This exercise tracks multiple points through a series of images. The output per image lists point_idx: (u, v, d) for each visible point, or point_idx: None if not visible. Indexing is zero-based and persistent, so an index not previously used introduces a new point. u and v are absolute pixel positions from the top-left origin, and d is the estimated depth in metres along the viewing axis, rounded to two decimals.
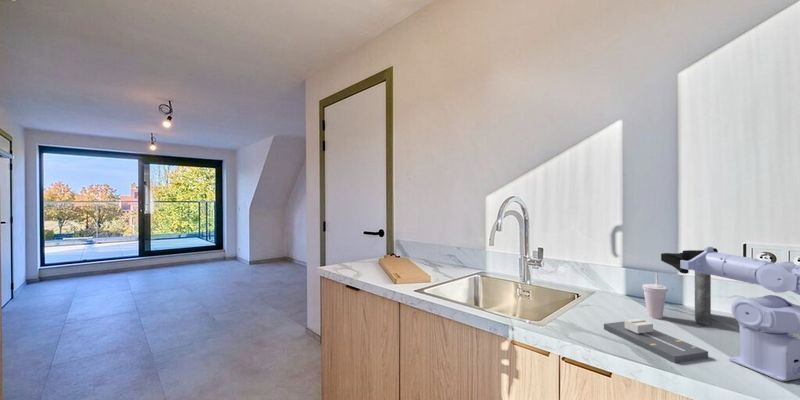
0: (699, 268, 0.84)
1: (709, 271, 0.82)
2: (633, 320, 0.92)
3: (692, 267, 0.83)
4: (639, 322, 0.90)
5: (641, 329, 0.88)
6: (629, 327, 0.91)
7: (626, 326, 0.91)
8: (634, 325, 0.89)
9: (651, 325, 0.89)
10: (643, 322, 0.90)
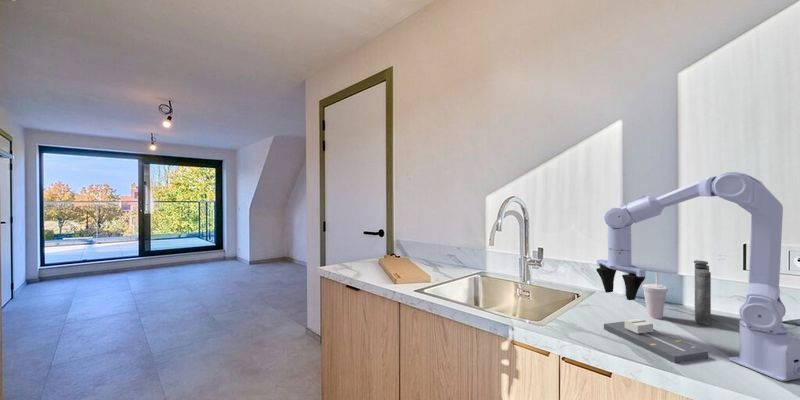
0: None
1: None
2: (633, 320, 0.92)
3: None
4: (639, 322, 0.90)
5: (641, 329, 0.88)
6: (629, 327, 0.91)
7: (626, 326, 0.91)
8: (634, 325, 0.89)
9: (651, 325, 0.89)
10: (643, 322, 0.90)
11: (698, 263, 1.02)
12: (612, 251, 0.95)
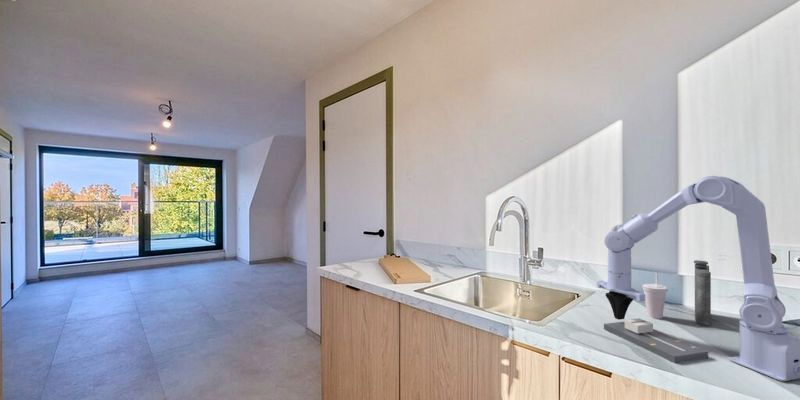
0: (632, 291, 0.94)
1: None
2: (633, 320, 0.92)
3: None
4: (639, 322, 0.90)
5: (641, 329, 0.88)
6: (629, 327, 0.91)
7: (626, 326, 0.91)
8: (634, 325, 0.89)
9: (651, 325, 0.89)
10: (643, 322, 0.90)
11: (698, 263, 1.02)
12: (612, 274, 0.95)
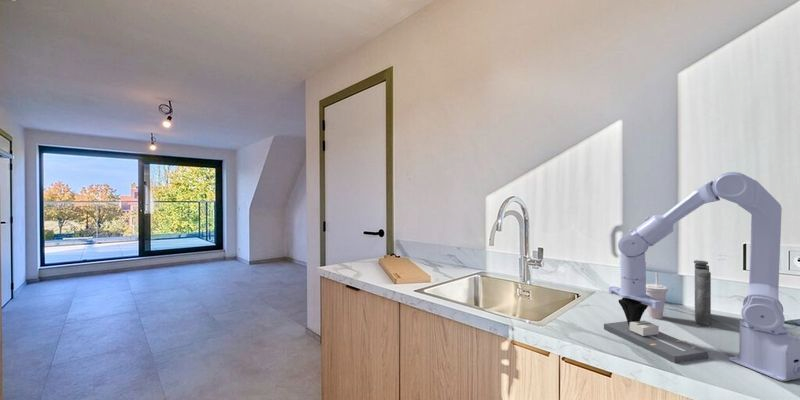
0: (646, 297, 0.89)
1: (645, 290, 0.90)
2: (638, 322, 0.90)
3: None
4: (644, 324, 0.89)
5: (646, 331, 0.87)
6: (634, 329, 0.89)
7: (631, 328, 0.90)
8: (639, 327, 0.87)
9: (657, 327, 0.88)
10: (648, 324, 0.89)
11: (698, 263, 1.02)
12: (626, 280, 0.91)
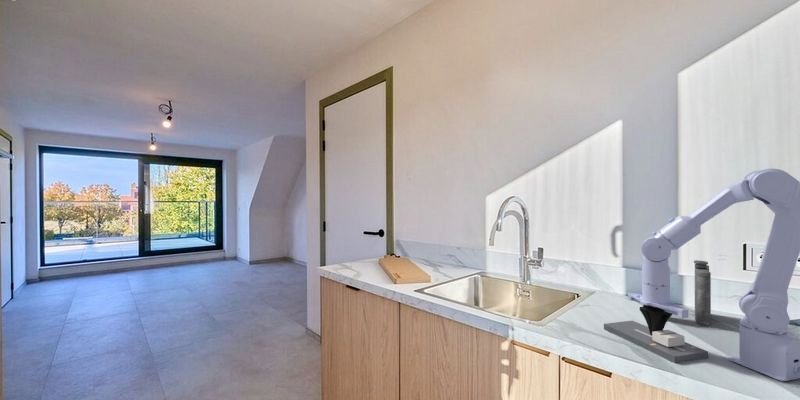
0: (671, 305, 0.83)
1: (669, 297, 0.84)
2: (662, 332, 0.84)
3: None
4: (669, 334, 0.82)
5: (671, 342, 0.80)
6: (658, 340, 0.83)
7: (654, 338, 0.84)
8: (664, 338, 0.81)
9: (682, 338, 0.81)
10: (673, 334, 0.82)
11: (698, 263, 1.02)
12: (648, 286, 0.85)
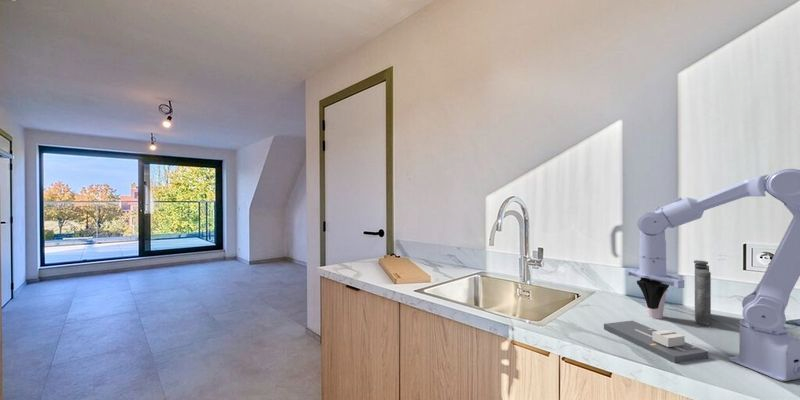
0: None
1: None
2: (662, 332, 0.84)
3: None
4: (669, 334, 0.82)
5: (671, 342, 0.80)
6: (658, 340, 0.83)
7: (654, 338, 0.84)
8: (664, 338, 0.81)
9: (682, 338, 0.81)
10: (673, 334, 0.82)
11: (698, 263, 1.02)
12: (645, 259, 0.87)
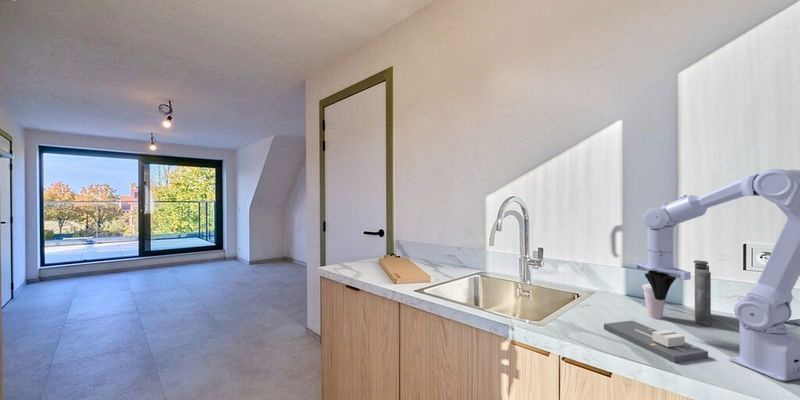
0: (674, 270, 0.90)
1: None
2: (662, 332, 0.84)
3: None
4: (669, 334, 0.82)
5: (671, 342, 0.80)
6: (658, 340, 0.83)
7: (654, 338, 0.84)
8: (664, 338, 0.81)
9: (682, 338, 0.81)
10: (673, 334, 0.82)
11: (698, 263, 1.02)
12: (653, 253, 0.91)
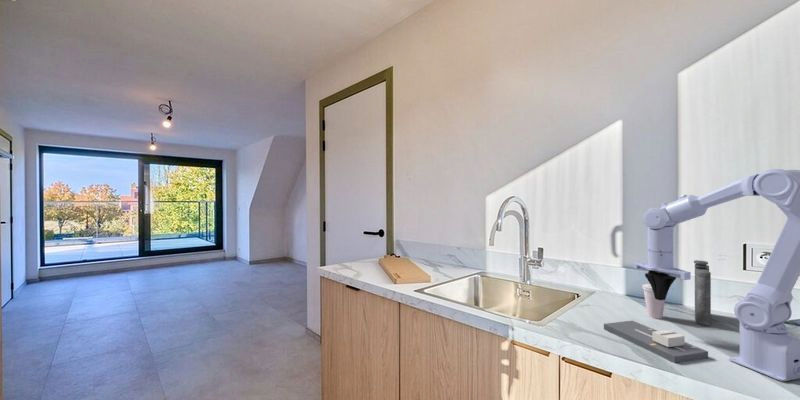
0: (674, 270, 0.90)
1: None
2: (662, 332, 0.84)
3: None
4: (669, 334, 0.82)
5: (671, 342, 0.80)
6: (658, 340, 0.83)
7: (654, 338, 0.84)
8: (664, 338, 0.81)
9: (682, 338, 0.81)
10: (673, 334, 0.82)
11: (698, 263, 1.02)
12: (653, 253, 0.91)
